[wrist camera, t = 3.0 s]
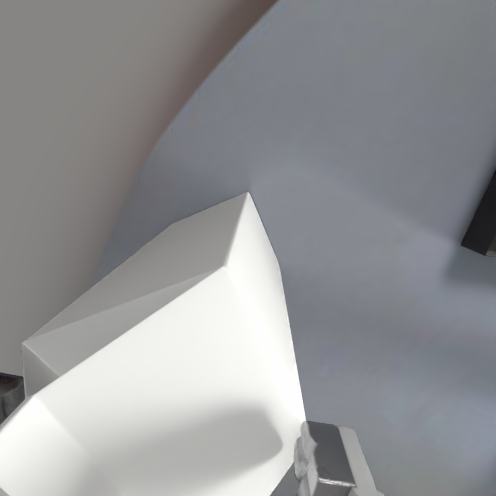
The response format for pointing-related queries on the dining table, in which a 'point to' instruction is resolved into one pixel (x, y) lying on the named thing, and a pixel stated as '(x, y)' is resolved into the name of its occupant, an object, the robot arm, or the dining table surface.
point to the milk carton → (164, 373)
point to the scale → (484, 225)
